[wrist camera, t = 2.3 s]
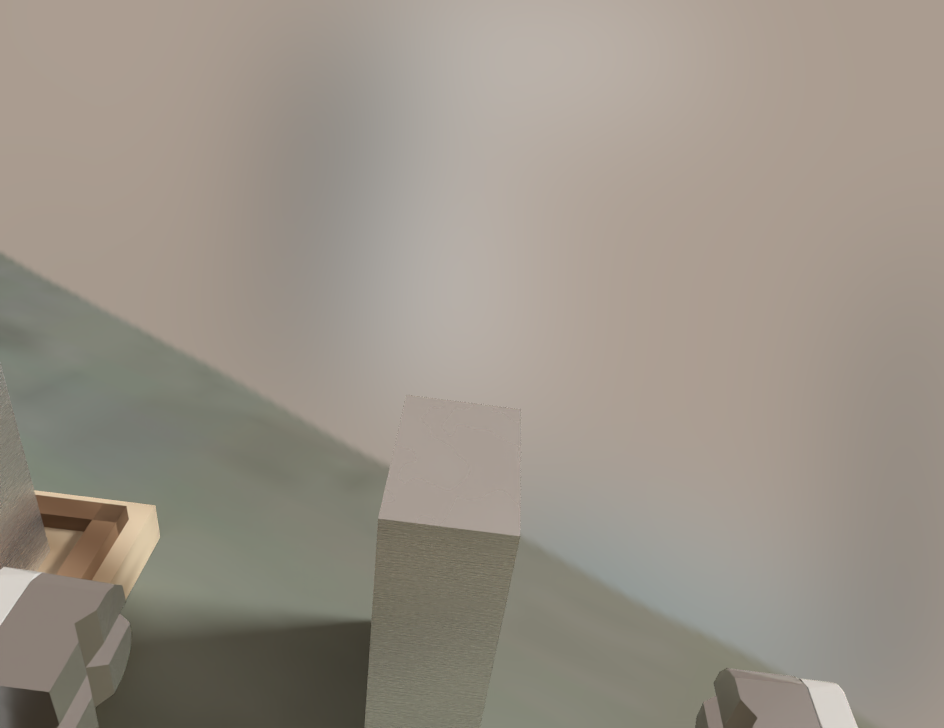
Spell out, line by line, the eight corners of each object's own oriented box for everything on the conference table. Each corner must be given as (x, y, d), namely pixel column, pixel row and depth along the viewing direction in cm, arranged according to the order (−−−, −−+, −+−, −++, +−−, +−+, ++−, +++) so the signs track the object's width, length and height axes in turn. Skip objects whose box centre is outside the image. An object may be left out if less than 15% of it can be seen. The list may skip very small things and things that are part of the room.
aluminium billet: (471, 768, 28) (520, 536, 21) (362, 755, 28) (378, 518, 21) (479, 631, 33) (521, 409, 26) (387, 620, 33) (406, 394, 26)
